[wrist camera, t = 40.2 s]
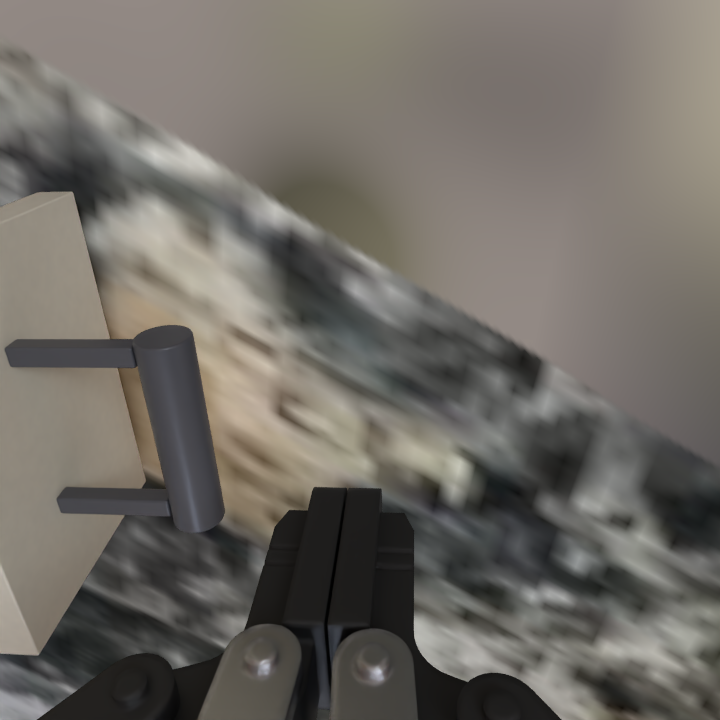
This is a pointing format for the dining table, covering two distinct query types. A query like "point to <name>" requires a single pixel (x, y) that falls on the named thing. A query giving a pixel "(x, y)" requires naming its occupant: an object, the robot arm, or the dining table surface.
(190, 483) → the drawer
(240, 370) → the dining table surface
